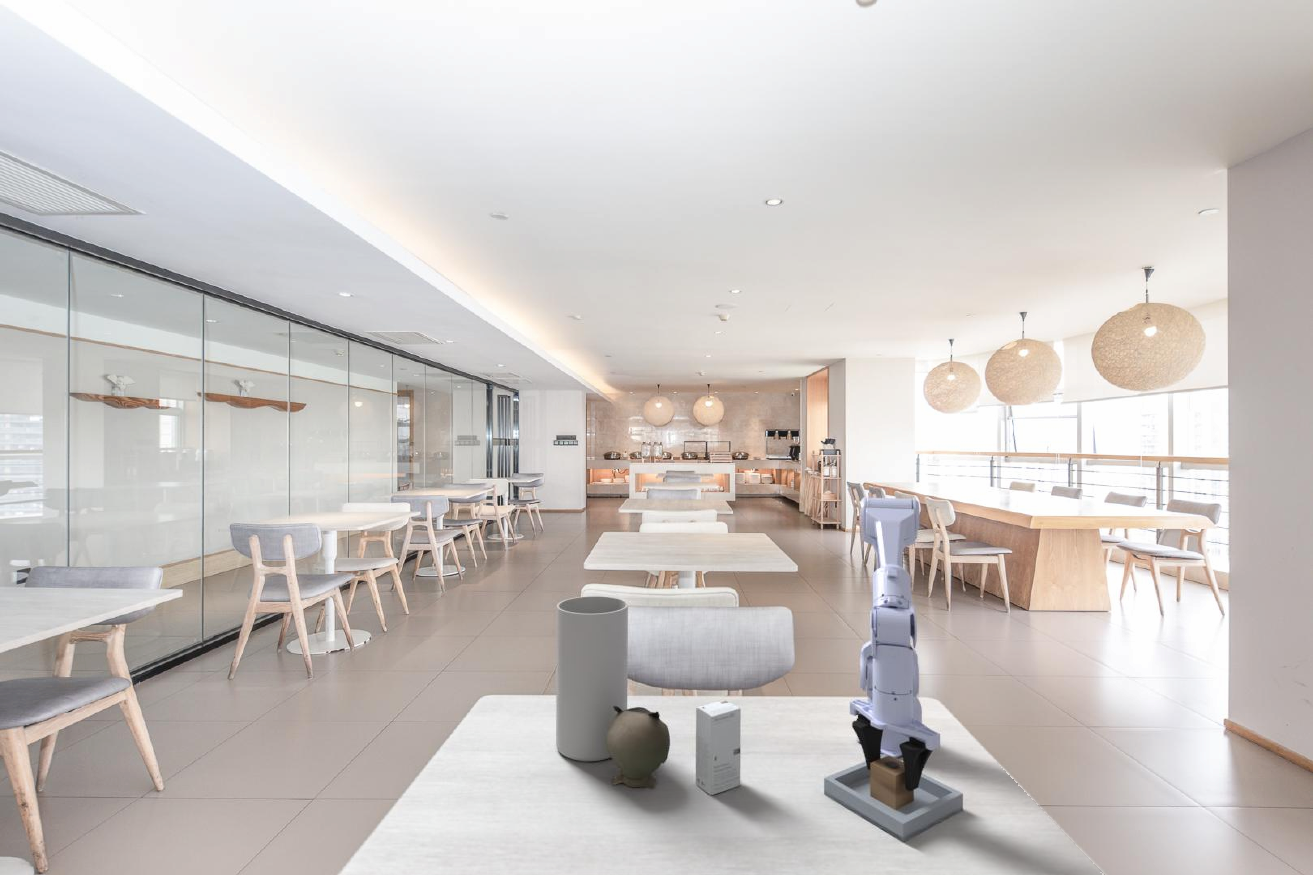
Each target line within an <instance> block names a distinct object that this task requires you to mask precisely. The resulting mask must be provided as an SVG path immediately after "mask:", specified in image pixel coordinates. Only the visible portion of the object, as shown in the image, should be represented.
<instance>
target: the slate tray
mask: <svg viewBox="0 0 1313 875" xmlns="http://www.w3.org/2000/svg"><path fill="white" fill-rule="evenodd" d="M883 757H886V755H884V754H882V753H881V758H883ZM823 779H824V780H823V794H824V795H825V796H826V797H828V798H830V799H831V800H832V801H834V802H836V803H838V804H840V805H841V806H842V807H844V808H846V809H847V810H849V811H851V812H853V813H854V814H855V815H857V816H859V817H861V818H863V819H864V820H866V821H868V823H870V824H872V825H874V826H875V827H877V828H879V829H881V830H882V831H884V832H886V833H887V834H889V835H891V837H893V838H895V839H897V840H898V841H900V842H902V843H905V842H907V841H909V840H910V839H912V838H914V837H916V836H918V835H919V834H921V833H924V832H926V831H927V830H929V829H931V828H932V827H934V826H937V825H939V824H940V823H942V822H944V821H945V820H948V819H949V818H951V817H954V816H955V815H957V814H958V813H959V814H960V813H961V812H963V810H964V793H963V792H961V791H959V790H957V789H955V788H953V787H951V786H948V785H947V784H945V783H943V782H940V781H938V780H936V779H935V778H933V777H930V776H928V775H927V774H924V773H922V774H921V778H920V782H919V786H918V788H917V789H915V790H914V801H913V802H911V803H909V804H907V805H905V806H903V807H901V808H899V809H897V810H894V809H892V808H891V807H889V806H887V805H885V804H883V803H882V802H880V801H878V800H876V799H874V798H873V797H871V796H870V770H868V769H867V765H866V760H864V761H862V762H860V763H858V764H855V765H853V766H851V767H848V768H845V769H843V770H841V771H838V772H835V773H833V774H830V775H828V776H825V777H824V778H823Z"/></svg>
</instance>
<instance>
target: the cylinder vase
mask: <svg viewBox="0 0 1313 875" xmlns="http://www.w3.org/2000/svg"><path fill="white" fill-rule="evenodd" d="M628 616H629V603H628V602H627V601H626V600H624V599H621V598H618V597H612V596H604V595H603V596H602V595H600V596H599V595H596V596H595V595H590V596H589V595H588V596H577V597H571V598H568V599H564V600H562V601H559V602H558V603H557V604H556V688H555V689H556V692H555V693H556V695H555V697H556V698H555V699H556V700H555V702H556V703H555V705H556V706H555V710H556V712H555V719H556V722H555V746H556V749H557V750H558V752H560V754H561V755H562V756H564V757H566V758H568V759H570V760H574V761H580V762H599V761H604V760H607V759H612V758H611V756H610V754H609V753H608V751H607V747H606V741H605V738H606V733H607V729H608V727H609V724H610V722H611V721H612V719H613V718H614V717H615V716H616V714H617V713H618V712H617V711H615V710H614V708H613V707H614V706H617V707H619V708H620V709H621V710H623V711H624V710H627V709H628V659H629V658H628V652H629V651H628V649H629V648H628V645H629V643H628V642H629V640H628V638H629V635H628V633H629V632H628V631H629V630H628V629H629V626H628V625H629V624H628V623H629V622H628V621H629V617H628Z"/></svg>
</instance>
